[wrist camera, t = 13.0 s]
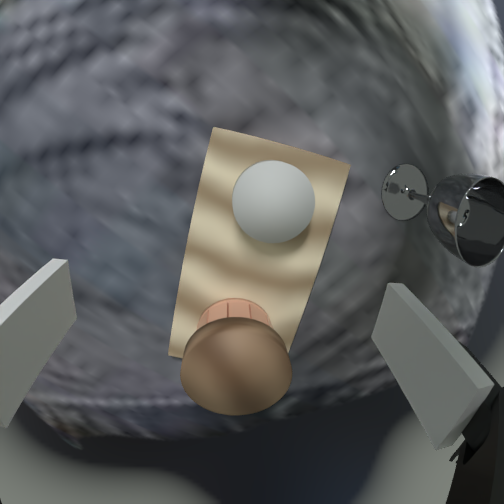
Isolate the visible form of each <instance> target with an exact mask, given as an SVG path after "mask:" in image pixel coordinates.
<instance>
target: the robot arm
mask: <svg viewBox="0 0 504 504" xmlns="http://www.w3.org/2000/svg"><path fill="white" fill-rule="evenodd" d="M76 319H77V316H76V310H75V305H74V299H73V293H72V287H71V280H70V273H69V265H68V260H62V259H52V260H51V261H49V262H48V263H47V264H46V265H45V266H43V267H42V268H41V269H40V270H39V271H38V272H36V273H35V274H34V275H33V276H32V277H31V278H29V279H28V280H27V281H26V282H25V283H24V284H23V285H21V286H20V287H19V288H18V289H17V290H16V291H15V292H14V293H13V294H12V295H10V296H9V297H8V298H7V299H6V300H5V301H4V302H3V303H2V304H1V305H0V426H1V427H4V428H7V427H8V425H9V423H10V421H11V419H12V418H13V416H14V414H15V412H16V411H17V409H18V407H19V406H20V404H21V402H22V401H23V399H24V397H25V396H26V394H27V392H28V391H29V389H30V387H31V386H32V384H33V383H34V381H35V379H36V378H37V376H38V375H39V373H40V372H41V370H42V368H43V367H44V365H45V364H46V362H47V361H48V359H49V358H50V356H51V355H52V353H53V352H54V350H55V349H56V347H57V346H58V344H59V343H60V341H61V340H62V339H63V337H64V336H65V334H66V333H67V331H68V330H69V329H70V327H71V326H72V324H73V323H74V322H75V320H76ZM371 338H372V340H373V341H374V343H375V345H376V346H377V348H378V350H379V351H380V353H381V355H382V356H383V358H384V360H385V361H386V363H387V365H388V366H389V368H390V370H391V371H392V373H393V375H394V377H395V378H396V380H397V382H398V383H399V385H400V387H401V389H402V390H403V392H404V394H405V396H406V397H407V399H408V401H409V403H410V405H411V406H412V408H413V410H414V412H415V413H416V415H417V417H418V419H419V420H420V423H421V424H422V426H423V428H424V430H425V432H426V434H427V435H428V437H429V439H430V441H431V443H432V445H433V447H434V448H435V450H439V449H442V448H445V447H448V446H451V445H453V444H454V442H455V441H456V440H457V438H458V437H459V436H460V435H461V433H462V434H463V436H464V437H465V440H464V442H463V443H462V444H461V445H460V447H459V448H458V449H457V450H456V452H455V453H454V454H453V455H452V457H451V458H450V460H449V461H453V460H454V458H455V457H456V456H458V455H459V456H458V460H457V461H456V463H457V465H456V469H455V473H454V477H453V480H452V484H451V488H450V491H449V495H448V498H447V501H446V504H504V387H501V386H500V385H499V384H498V383H497V381H496V380H495V379H494V378H493V377H492V375H491V374H490V373H489V372H488V371H487V370H486V368H485V367H484V366H483V365H482V364H480V361H479V360H478V359H477V358H475V357H474V355H473V354H472V352H471V351H470V350H469V349H468V348H467V347H466V346H464V345H463V344H462V343H460V342H459V341H457V340H456V339H455V338H454V337H453V336H452V335H451V333H450V332H449V331H448V330H447V329H446V328H445V327H444V326H443V325H442V324H441V323H440V321H439V320H438V319H437V318H436V317H435V316H434V315H433V314H432V313H431V312H430V311H429V310H428V309H427V308H426V307H425V306H424V305H423V304H422V303H421V302H420V300H419V299H418V298H417V297H416V296H415V295H414V294H413V293H412V292H411V291H410V290H409V289H408V288H407V287H406V286H405V285H404V284H403V283H388V284H387V288H386V291H385V295H384V298H383V301H382V305H381V308H380V311H379V314H378V318H377V321H376V324H375V327H374V330H373V333H372V336H371ZM0 504H2V503H1V500H0Z"/></svg>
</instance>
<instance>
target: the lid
mask: <svg viewBox="0 0 504 504" xmlns="http://www.w3.org/2000/svg"><path fill="white" fill-rule="evenodd" d="M180 376H181V382H182V386H183V388H184V390H185V392H186V393H187V394H188V396H189V397H190V398H191V399H192V400H193V401H194V402H196V403H197V404H198V405H200V406H201V407H203V408H205V409H207V410H210V411H212V412H216V413H220V414H225V415H246V414H252V413H255V412H259V411H261V410H264V409H266V408H268V407H270V406H272V405H273V404H275V403H276V402H277V401H278V400H280V399H281V398H282V397H283V396H284V394H285V393H286V392H287V390H288V388H289V386H290V383H291V380H292V367H291V363H290V359H289V356H288V352H287V348H286V346H285V343H284V341H283V339H282V338H281V336H280V335H279V334H278V333H277V332H276V331H275V330H274V329H273V328H271V327H270V326H268V325H267V324H265V323H263V322H260V321H258V320H255V319H250V318H245V317H227V318H221V319H217V320H214V321H211V322H209V323H207V324H205V325H204V326H202V327H200V328H199V329H198V330H197V331H195V332H194V333H193V335H192V336H191V337H190V338H189V340H188V342H187V344H186V346H185V350H184V354H183V360H182V365H181V373H180Z"/></svg>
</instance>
